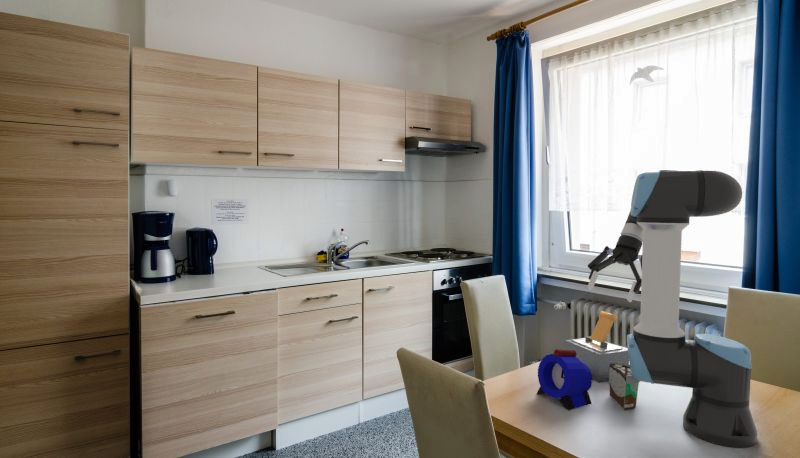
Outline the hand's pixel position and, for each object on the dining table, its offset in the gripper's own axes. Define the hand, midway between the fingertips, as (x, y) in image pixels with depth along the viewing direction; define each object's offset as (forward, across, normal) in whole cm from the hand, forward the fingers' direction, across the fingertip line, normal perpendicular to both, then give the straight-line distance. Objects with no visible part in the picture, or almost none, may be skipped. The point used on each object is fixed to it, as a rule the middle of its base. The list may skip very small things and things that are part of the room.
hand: (608, 294), depth 159 cm
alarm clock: (+38, -7, +16) cm, 41 cm away
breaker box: (+25, -2, -8) cm, 26 cm away
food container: (+31, -20, +8) cm, 37 cm away
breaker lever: (+16, -1, -3) cm, 16 cm away
